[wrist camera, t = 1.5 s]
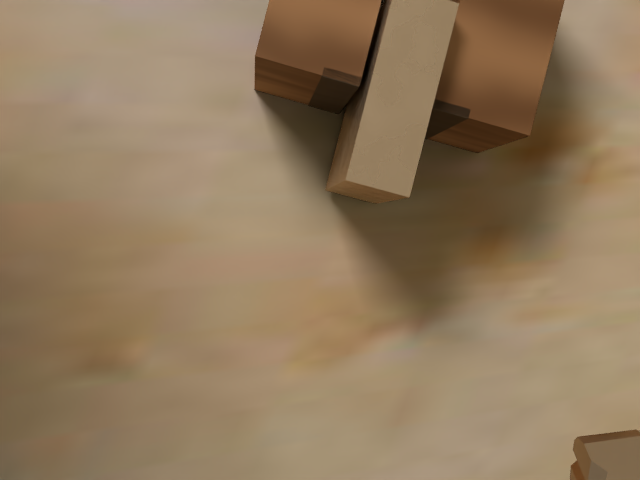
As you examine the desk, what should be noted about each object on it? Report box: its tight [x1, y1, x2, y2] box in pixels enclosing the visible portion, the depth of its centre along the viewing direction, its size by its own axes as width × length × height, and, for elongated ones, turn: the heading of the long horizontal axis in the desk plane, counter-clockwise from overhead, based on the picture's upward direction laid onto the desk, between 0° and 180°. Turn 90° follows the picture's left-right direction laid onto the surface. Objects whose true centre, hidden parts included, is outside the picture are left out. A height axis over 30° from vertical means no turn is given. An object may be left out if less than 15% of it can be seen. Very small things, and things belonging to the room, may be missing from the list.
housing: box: [255, 0, 564, 153], centre depth 42 cm, size 14×18×9 cm
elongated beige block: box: [325, 0, 459, 204], centre depth 41 cm, size 12×4×10 cm, turn 166°
